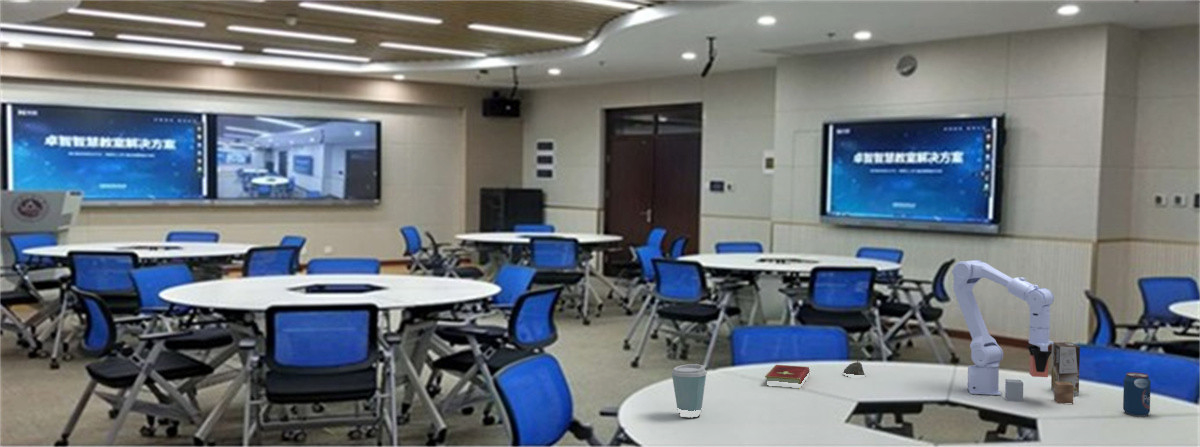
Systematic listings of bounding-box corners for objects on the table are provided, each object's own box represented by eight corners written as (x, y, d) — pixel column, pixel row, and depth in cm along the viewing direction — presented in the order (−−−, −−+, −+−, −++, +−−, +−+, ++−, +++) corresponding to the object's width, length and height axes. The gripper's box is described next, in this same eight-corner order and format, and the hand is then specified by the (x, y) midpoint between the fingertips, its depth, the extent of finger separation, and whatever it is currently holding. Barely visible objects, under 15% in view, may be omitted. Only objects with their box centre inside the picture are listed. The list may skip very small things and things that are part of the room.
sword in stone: (838, 373, 333) (839, 340, 333) (859, 373, 334) (860, 341, 333) (848, 379, 323) (849, 345, 323) (869, 379, 324) (871, 346, 323)
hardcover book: (809, 377, 327) (809, 366, 327) (800, 390, 308) (800, 378, 307) (775, 375, 331) (776, 363, 331) (765, 387, 312) (765, 375, 312)
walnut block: (1057, 403, 287) (1057, 384, 287) (1054, 400, 291) (1054, 381, 291) (1073, 404, 286) (1073, 385, 285) (1069, 400, 290) (1069, 382, 290)
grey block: (1007, 400, 290) (1008, 382, 290) (1005, 397, 295) (1005, 379, 295) (1023, 401, 289) (1023, 382, 289) (1020, 398, 294) (1020, 379, 293)
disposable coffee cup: (683, 422, 266) (683, 371, 265) (664, 414, 275) (664, 364, 275) (713, 417, 271) (713, 367, 270) (693, 409, 280) (693, 361, 279)
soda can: (1149, 418, 269) (1150, 377, 268) (1122, 414, 272) (1123, 375, 272) (1149, 412, 275) (1151, 373, 274) (1123, 410, 278) (1124, 371, 278)
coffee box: (1079, 396, 296) (1080, 346, 295) (1058, 395, 297) (1059, 346, 297) (1071, 389, 305) (1072, 342, 304) (1050, 389, 306) (1051, 341, 306)
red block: (1032, 376, 286) (1032, 357, 285) (1029, 373, 290) (1029, 354, 290) (1048, 377, 284) (1048, 358, 284) (1044, 374, 289) (1045, 355, 288)
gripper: (1059, 331, 278) (1058, 375, 279) (1048, 324, 292) (1047, 366, 293) (1033, 330, 280) (1033, 374, 281) (1024, 323, 294) (1023, 365, 295)
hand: (1038, 370), depth 287 cm, fingers closed on red block, 4 cm apart
